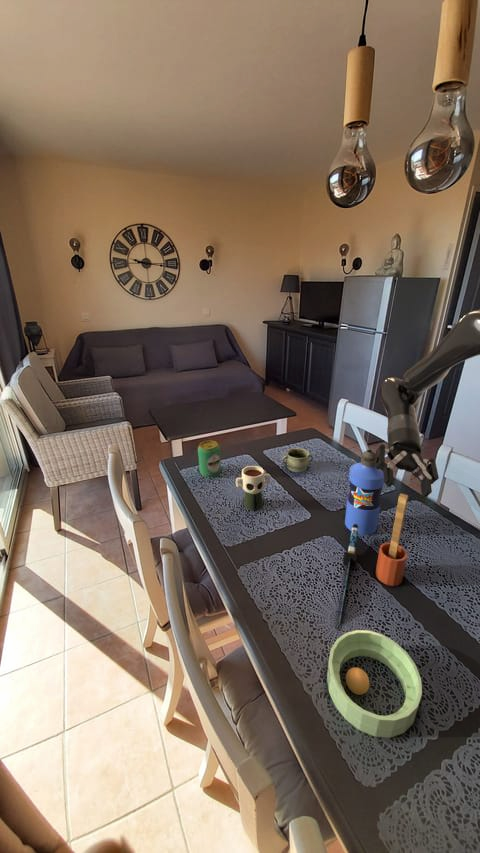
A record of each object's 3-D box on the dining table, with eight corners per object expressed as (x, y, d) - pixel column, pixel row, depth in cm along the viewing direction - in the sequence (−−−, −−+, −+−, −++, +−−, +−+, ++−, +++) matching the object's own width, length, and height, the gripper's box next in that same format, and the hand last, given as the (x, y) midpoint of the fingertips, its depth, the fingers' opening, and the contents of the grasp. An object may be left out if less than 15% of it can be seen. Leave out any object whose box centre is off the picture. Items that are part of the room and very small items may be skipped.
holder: (396, 570, 91) (402, 542, 87) (405, 590, 85) (411, 561, 82) (372, 569, 91) (376, 541, 88) (379, 589, 86) (384, 560, 82)
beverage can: (206, 480, 132) (203, 451, 127) (196, 471, 138) (193, 443, 133) (225, 474, 136) (223, 445, 131) (214, 465, 142) (212, 438, 137)
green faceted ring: (398, 652, 72) (403, 631, 69) (430, 744, 58) (437, 723, 56) (321, 648, 73) (323, 628, 70) (334, 738, 59) (337, 717, 57)
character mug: (239, 514, 113) (238, 479, 108) (235, 501, 120) (233, 467, 114) (272, 509, 115) (273, 474, 110) (266, 497, 121) (266, 463, 116)
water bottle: (348, 512, 113) (357, 440, 102) (379, 521, 108) (391, 447, 98) (340, 530, 105) (348, 454, 95) (373, 540, 101) (385, 462, 91)
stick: (386, 574, 89) (400, 492, 79) (392, 577, 88) (408, 495, 78) (384, 578, 88) (398, 496, 78) (390, 581, 87) (406, 498, 77)
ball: (364, 676, 67) (367, 662, 65) (370, 700, 63) (373, 686, 62) (342, 675, 67) (344, 661, 66) (347, 699, 64) (349, 685, 62)
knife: (351, 533, 102) (352, 521, 100) (362, 536, 101) (364, 524, 98) (325, 632, 78) (326, 619, 76) (339, 637, 77) (340, 625, 75)
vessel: (284, 474, 134) (284, 459, 132) (279, 462, 142) (279, 448, 140) (315, 471, 135) (316, 457, 133) (309, 460, 143) (310, 446, 141)
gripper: (383, 419, 90) (385, 473, 79) (438, 434, 89) (448, 490, 79) (370, 437, 95) (370, 489, 85) (422, 451, 95) (429, 506, 85)
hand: (408, 490), depth 82 cm, fingers open, 8 cm apart
